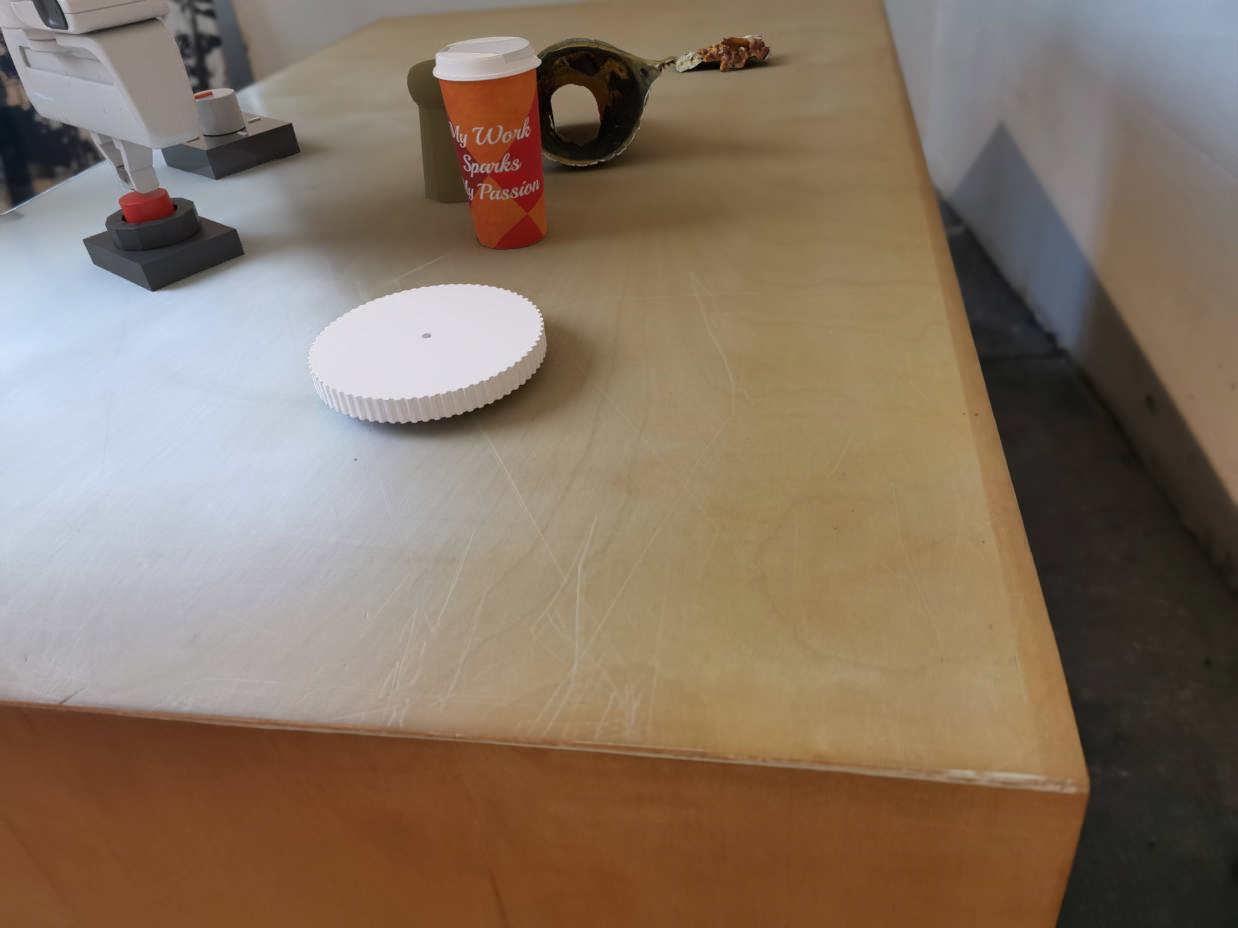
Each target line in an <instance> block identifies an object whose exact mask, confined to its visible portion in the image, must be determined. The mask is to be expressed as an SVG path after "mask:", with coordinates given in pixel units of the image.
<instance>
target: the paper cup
mask: <svg viewBox="0 0 1238 928" xmlns="http://www.w3.org/2000/svg"><path fill="white" fill-rule="evenodd" d="M535 53H536V50H535V49H534V48H533V47H532V46H531V43H530V41H529V40H528V39H526V38H522V37H519V36H518V37H517V36H488V37H479V38H474V39H473V38H471V39H465V40H461V41H457V42H453V43H450V44H447V45H445V46H444V47H443V48H441V49H440V50H439V51H438V52H436V53H435V59H436V66H435V67H434V69H433V75H434V76H435V77H437V78H438V79H439V83H440V87H441V91H442V95H443V99H444V104H445V108H446V113H447V117H448V121H449V125H450V129H451V133H452V137H453V141H454V145H455V149H456V154H457V158H458V162H459V166H460V170H461V174H462V178H463V182H464V186H465V191H466V195H467V199H468V200H467V202H468V207H469V210H470V214H471V218H472V222H473V226H474V229H475V233H476V236H477V239H478V241H479V243H480V244H481V245H482V246H484V247H486V248H490V249H495V250H510V249H518V248H523V247H527V246H530V245H533V244H535V243H537V242H539V241H541V240H542V239H544V237H545V236H546V234H547V212H546V211H547V209H546V196H545V180H544V179H545V177H544V167H543V166H544V165H543V164H544V163H543V154H542V148H541V134H540V120H539V106H538V92H537V78H536V67H538V66H539V65H540V64H541V60H540V59H538V57H537V54H535Z"/></svg>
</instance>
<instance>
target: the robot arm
mask: <svg viewBox="0 0 1238 928" xmlns="http://www.w3.org/2000/svg"><path fill="white" fill-rule="evenodd" d="M169 13H170V6H169V3H168V0H0V28H1V32H2V36H3V39H4V42H5V44H6V47H7V50H8V52H9V54H10V55H9V56H10V57H11V60H12V62H13V65H14V67H15V70H16V72H17V75H18V77H19V79H20V82H21V84H22V87H23V88H24V91H25V93H26V95H27V98H28V100H29V102H30V103H31V105H32V106H33V108H34V109H35V110H36V112H37V113H38V114H39V116H41V117H42V118H44V119H46V120H51V121H53V122H58V123H60V124H61V123H62V124H65V125H68V126H72V127H75V128H78V129H83V130H85V131H88V132H89V134H90V136H91V140H92V141H93V143H94V144H95V146H96V148H97V149H98V150H99V151H100V153H101V154H102V156H103V157H104V159H106V161H107V162H108V164H109V165H110V166H111V167H112V169H113V173H114V174H115V176H116V178H117V181H118V183H119V185H120V186H121V187H122V188H125V189H127V190H130V191H133V192H134V191H136V192H139V193H143V194H145V193H148V192H151V191H154V190H157V189H158V188H160V181H159V178H158V176H157V174H156V173H157V172H156V171H155V168H154V155H153V150H161V149H163V148H167V147H170V146H174V145H177V144H180V143H183V142H186V141H189V140H192V139H195V138H197V137H198V135H199V129H200V116H199V111H198V107H197V104H196V101H195V97H194V94H195V93H194V91H193V88H192V84H191V82H190V78H189V75H188V72H187V69H186V66H185V63H184V60H183V57H182V54H181V52H180V49H179V46H178V44H177V40H176V38H175V37H174V35H173V33H172V32H171V29H170V28H169V26H167V24H166V23H165V22H164V21H162V20H161V19H160V18H161V17H165V16H167V15H168V14H169Z"/></svg>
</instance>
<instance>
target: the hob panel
mask: <svg viewBox="0 0 1238 928" xmlns="http://www.w3.org/2000/svg"><path fill="white" fill-rule="evenodd" d="M241 112H242V115H243V119H244V122H245V127H244V128H242V129H241V130H238V131H236V132H232V133H228V134H223V135H204V134H202V132H201V129H199V135H198V137H197V138H195V139H192V140H189V141H186V142H183V143H180V144H177V145H174V146H170V147H167V148H163V149H160V151H161V154H162V156H163V159H164V162H165V164H166V166H168V167H171V168H174V169H177V170H181V171H184V172H188V173H191V174H194V175H198V176H201V177H205V178H208V179H211V180H214V181H218V180H220V179H224V178H226V177H229V176H232V175H235V174H238V173H240V172H243V171H246V170H249V169H253V168H256V167H258V166H261V165H264V164H267V163H270V162H273V161H276V160H279V159H282V158H285V157H288V156H291V155H294V154H296V153H301V149H300V145H299V142H298V139H297V134H296V131H295V128H294V126H293V122H291V121H286V120H281V119H276V118H272V117H268V116H263V115H258V114H254V113H249V112H245V111H241Z"/></svg>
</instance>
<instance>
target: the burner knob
mask: <svg viewBox="0 0 1238 928" xmlns="http://www.w3.org/2000/svg"><path fill="white" fill-rule="evenodd" d="M193 94H194V97H195V101H196V104H197V107H198V111H199V116H200V129H201V132H202V134H204V135H223V134H228V133H232V132H236V131H238V130H241V129H242V128H244V127H245V122H244V119H243V115H242V112H243V111H242V110H241V109H242V108H241V107H240V103H239V100H238V98H237V94H236V91H235V89H233V88H228V87H226V88H224V87H222V88H213V89H207V90H202V91H199V92H196V93H193Z"/></svg>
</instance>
